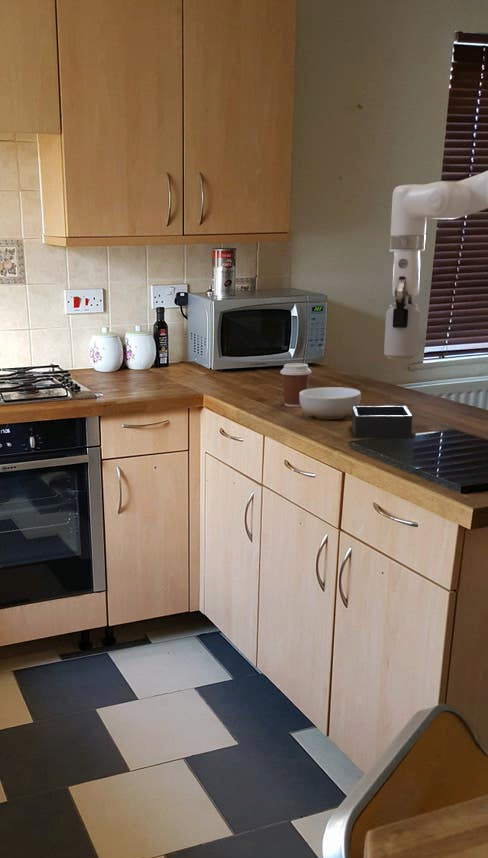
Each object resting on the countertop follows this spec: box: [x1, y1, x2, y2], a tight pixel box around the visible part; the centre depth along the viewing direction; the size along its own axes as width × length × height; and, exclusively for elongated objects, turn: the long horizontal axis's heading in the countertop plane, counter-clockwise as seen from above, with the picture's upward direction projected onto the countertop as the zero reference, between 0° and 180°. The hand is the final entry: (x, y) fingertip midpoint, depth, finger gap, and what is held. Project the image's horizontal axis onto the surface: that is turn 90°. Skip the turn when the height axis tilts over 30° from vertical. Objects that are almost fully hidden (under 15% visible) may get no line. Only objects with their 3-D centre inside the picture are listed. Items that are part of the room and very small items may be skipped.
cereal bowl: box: [299, 386, 362, 420], centre depth 243 cm, size 17×17×7 cm
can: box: [383, 303, 421, 360], centre depth 201 cm, size 8×8×12 cm
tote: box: [350, 405, 413, 439], centre depth 222 cm, size 14×14×6 cm
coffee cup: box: [280, 362, 312, 407], centre depth 261 cm, size 9×9×12 cm
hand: (402, 325), depth 200 cm, fingers closed on can, 7 cm apart
